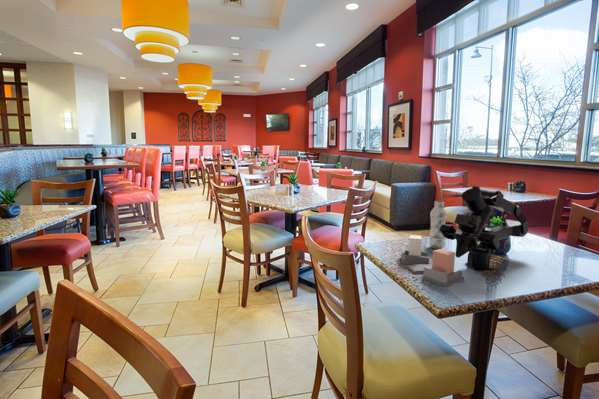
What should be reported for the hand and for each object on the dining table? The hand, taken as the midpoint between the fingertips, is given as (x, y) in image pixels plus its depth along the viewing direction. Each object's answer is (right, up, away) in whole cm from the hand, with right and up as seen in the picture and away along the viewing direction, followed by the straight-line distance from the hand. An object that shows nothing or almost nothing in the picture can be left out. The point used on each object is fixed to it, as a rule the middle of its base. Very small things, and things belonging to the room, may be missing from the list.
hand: (457, 256), depth 113 cm
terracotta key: (-6, -5, -3) cm, 9 cm away
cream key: (-9, -3, +14) cm, 17 cm away
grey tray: (-7, -5, +6) cm, 11 cm away
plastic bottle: (+6, -2, +32) cm, 33 cm away
